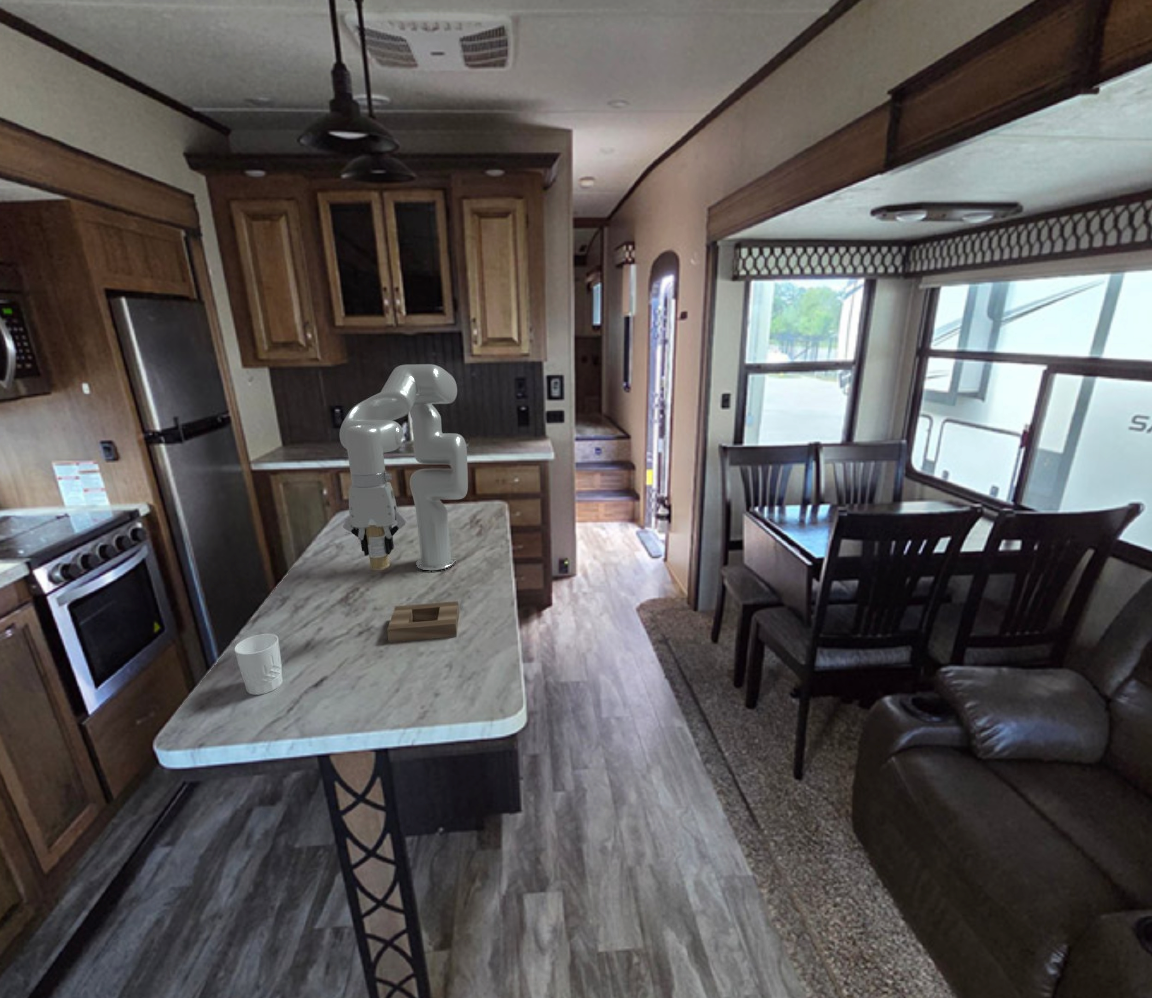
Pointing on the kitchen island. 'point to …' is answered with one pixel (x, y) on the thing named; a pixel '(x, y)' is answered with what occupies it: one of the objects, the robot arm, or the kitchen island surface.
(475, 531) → the kitchen island surface
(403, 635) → the walnut holder
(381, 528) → the sprinkles bottle
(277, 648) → the white cup
